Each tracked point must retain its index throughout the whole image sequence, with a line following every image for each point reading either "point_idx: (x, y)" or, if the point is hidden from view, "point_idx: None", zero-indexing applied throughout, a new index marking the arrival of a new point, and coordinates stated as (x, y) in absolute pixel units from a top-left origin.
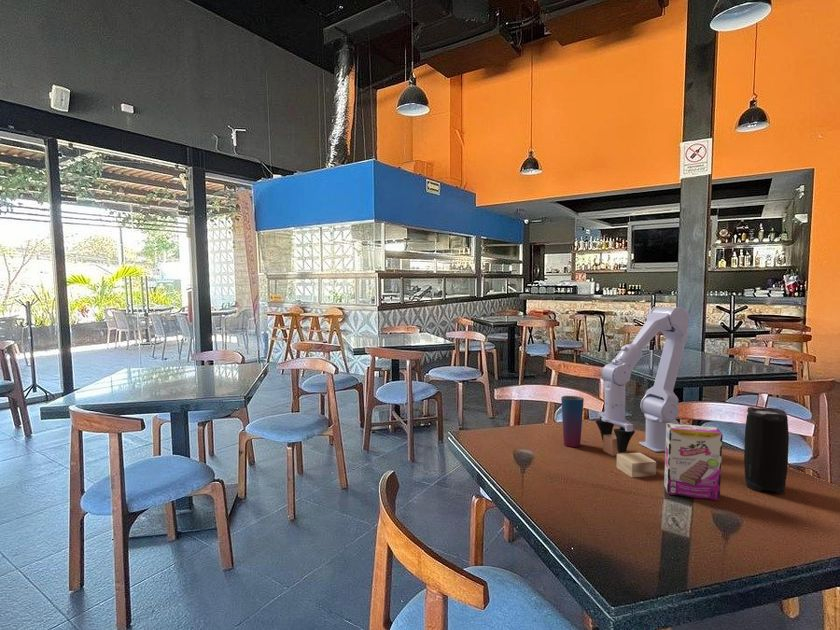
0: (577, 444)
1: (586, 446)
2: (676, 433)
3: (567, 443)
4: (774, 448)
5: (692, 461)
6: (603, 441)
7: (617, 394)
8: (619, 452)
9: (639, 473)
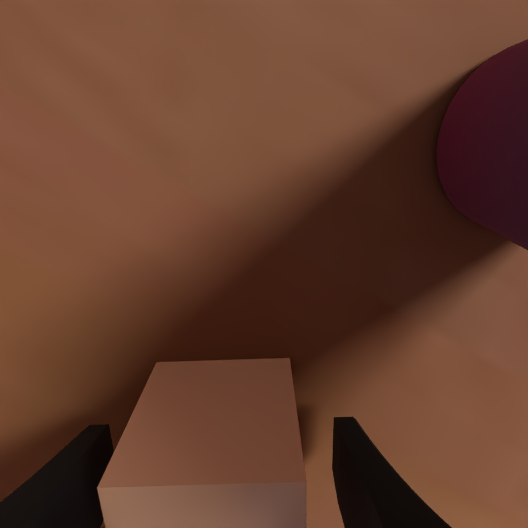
0: (447, 165)
1: (427, 269)
2: None
3: (514, 46)
4: None
5: None
6: (293, 415)
7: None
8: (92, 425)
9: None
